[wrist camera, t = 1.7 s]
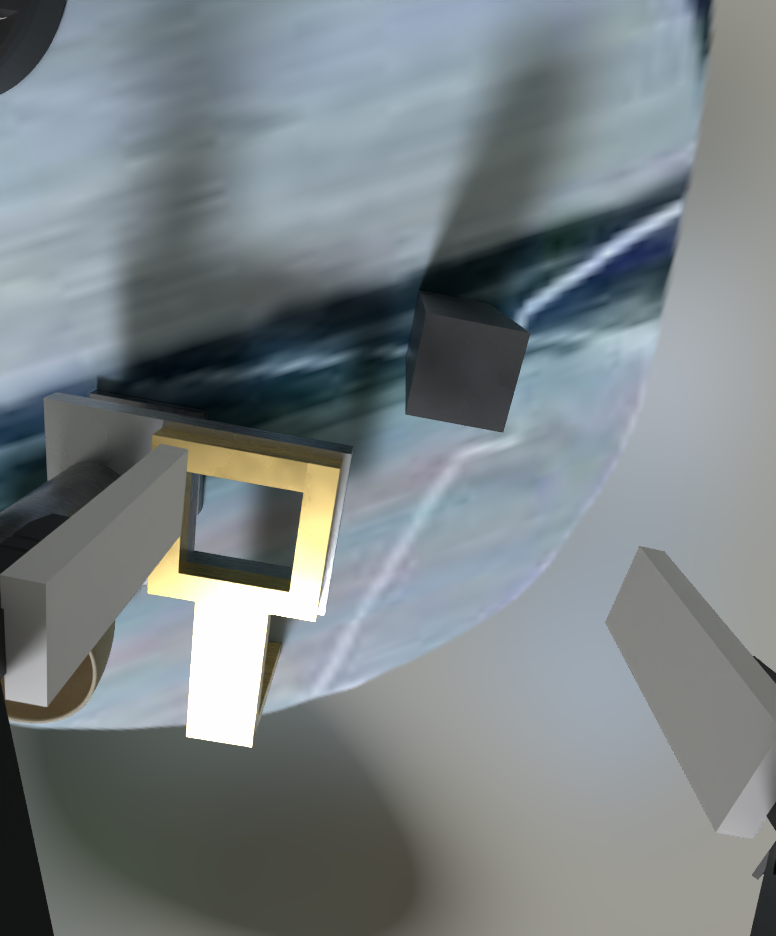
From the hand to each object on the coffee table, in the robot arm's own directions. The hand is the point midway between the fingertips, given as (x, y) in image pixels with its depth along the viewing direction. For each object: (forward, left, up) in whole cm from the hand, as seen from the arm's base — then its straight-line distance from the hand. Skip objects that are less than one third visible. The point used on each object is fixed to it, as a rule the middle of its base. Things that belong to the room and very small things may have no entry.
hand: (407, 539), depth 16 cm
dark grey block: (-4, +2, -19) cm, 20 cm away
